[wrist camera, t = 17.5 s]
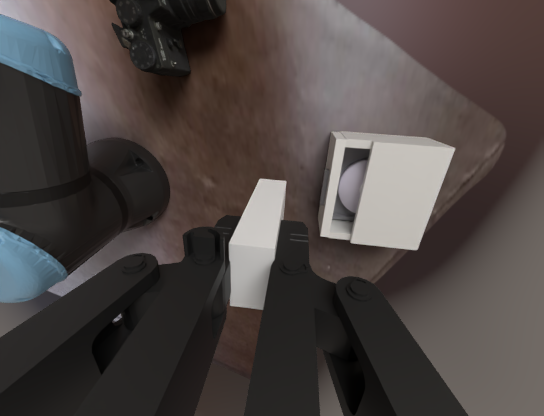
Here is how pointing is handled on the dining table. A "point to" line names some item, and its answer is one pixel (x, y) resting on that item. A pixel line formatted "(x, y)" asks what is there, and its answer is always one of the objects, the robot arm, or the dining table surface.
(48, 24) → the dining table surface
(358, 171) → the lid
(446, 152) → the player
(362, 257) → the dining table surface
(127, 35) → the camera
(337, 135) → the tray
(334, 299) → the robot arm
